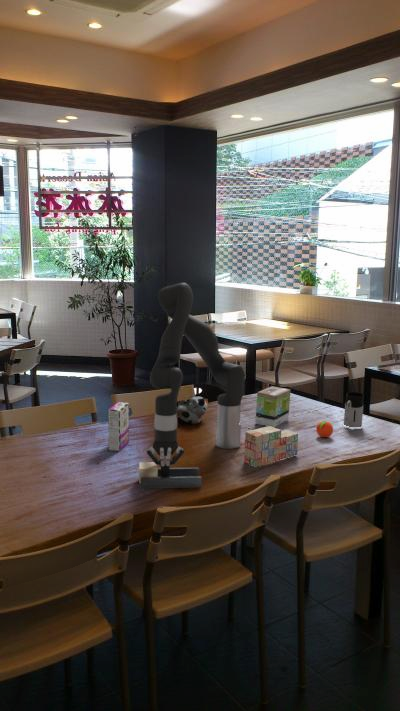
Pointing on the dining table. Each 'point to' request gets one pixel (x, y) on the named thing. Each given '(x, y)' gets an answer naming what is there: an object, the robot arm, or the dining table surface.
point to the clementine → (324, 429)
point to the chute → (173, 479)
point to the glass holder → (353, 409)
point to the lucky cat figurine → (192, 410)
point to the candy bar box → (118, 426)
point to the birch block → (147, 470)
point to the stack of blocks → (269, 445)
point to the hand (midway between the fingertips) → (164, 475)
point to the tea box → (272, 406)
